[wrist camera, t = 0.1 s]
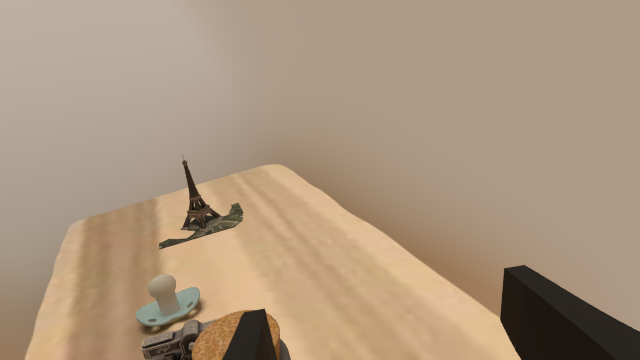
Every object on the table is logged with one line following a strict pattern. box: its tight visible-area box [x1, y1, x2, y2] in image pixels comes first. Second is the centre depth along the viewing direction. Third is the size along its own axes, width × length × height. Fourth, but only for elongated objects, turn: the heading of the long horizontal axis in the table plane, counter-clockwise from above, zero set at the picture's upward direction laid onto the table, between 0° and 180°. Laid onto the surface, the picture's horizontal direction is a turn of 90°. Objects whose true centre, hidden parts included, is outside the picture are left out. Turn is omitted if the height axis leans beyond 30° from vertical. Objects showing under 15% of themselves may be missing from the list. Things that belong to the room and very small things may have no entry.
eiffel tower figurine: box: [159, 160, 243, 249], centre depth 69 cm, size 15×10×13 cm
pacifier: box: [136, 275, 200, 327], centre depth 48 cm, size 7×6×6 cm
